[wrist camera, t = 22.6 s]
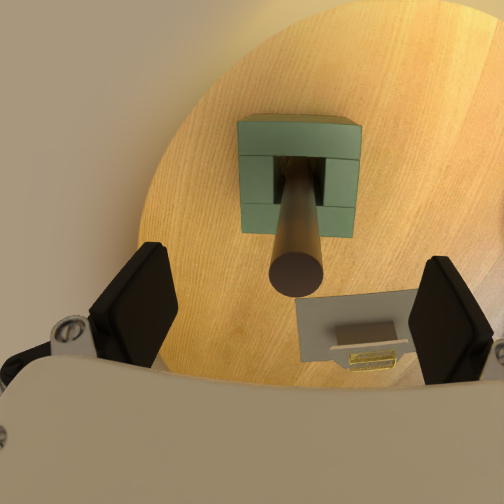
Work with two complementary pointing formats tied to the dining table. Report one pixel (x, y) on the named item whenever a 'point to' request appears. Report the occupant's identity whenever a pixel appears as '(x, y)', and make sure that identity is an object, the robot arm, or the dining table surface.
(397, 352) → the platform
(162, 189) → the dining table surface
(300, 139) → the stand
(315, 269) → the stick
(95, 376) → the robot arm
